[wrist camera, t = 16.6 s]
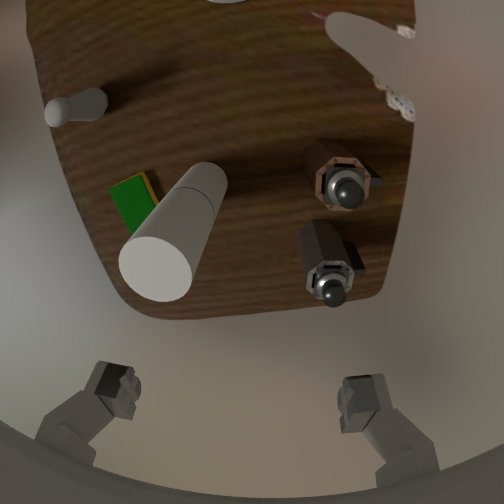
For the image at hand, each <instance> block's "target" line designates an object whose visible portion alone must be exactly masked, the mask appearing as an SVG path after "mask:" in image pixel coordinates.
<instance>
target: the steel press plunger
mask: <svg viewBox="0 0 504 504" xmlns="http://www.w3.org/2000/svg"><path fill="white" fill-rule="evenodd" d="M324 267H330V266H329V265H325V266H324ZM347 288H348V283H347V280H346V278H345V277H344V276H343V275H342V274H339V273H328V274H326V275H324V276H322V277H321V278H320V279H319V280H318V282H317V285H316V290H317V293H318V295H319V296H320V297H321V298H323V299H324V303H325V304H326V305H327V306H329V307H338V306H340V305H342V304H343V303H344V302H345V300H346V291H347Z"/></svg>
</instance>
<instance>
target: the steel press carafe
mask: <svg viewBox="0 0 504 504" xmlns="http://www.w3.org/2000/svg"><path fill="white" fill-rule="evenodd" d="M299 247H300V253H301V259H302V265H303V271H304V277H305V284H306V289H307V290H308V291H310V292H311V293H312V294H313V297H316V298H318V299H323V298H321V297H320V296H319V295H318V293H317V290H316V285H317V282H318V280H319V279H320V278H321V277H322V276H324V275H326V274H328V273H339V274H342V275H343V276H344V277H345V278H346V280H347V283H348V288H347V291H348V290H350V289H351V287H352V283H353V278H354V276H364V275H365V271H366V269H365V267H364V264H363V262H362V260H361V258H360V256H359V254H358V252H357V249H356V247H355V245H354V243H353V242H345V241H342V240H341V238H340V236H339V233H338V231H337V230H336V229H335V228H334V227H333V226H332V225H331V224H330V222H329V221H322V220H312V221H311V222H309V223H308V224H307V225H306V226H305V227H303V228H302V229H301V230H300V238H299ZM325 265H329V266H330V267H324V266H325ZM347 291H346V292H347Z"/></svg>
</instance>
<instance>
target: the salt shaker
mask: <svg viewBox="0 0 504 504" xmlns="http://www.w3.org/2000/svg"><path fill="white" fill-rule="evenodd" d="M108 105H109V103H108V97H107V94H106V93H104V92H103V91H102V90H101V89H99V88H93V87H92V88H90V89H87V90H85V91H83V92H80V93H78V94H76V95H74V96H71V97H69V98H67V99H66V98H63V97H57V98H55V99H53V100H51V101H49V103H48V104H47V105H46V108H45V119H46V122H47V124H48V125H49V126H51V127H59V126H61V125H64V124H65V123H66V122H67V121H68V120H73V121H94V120H97V119H99V118H100V117H101V116H102V115H103V114H104V112H105V110H106V108H107V107H108Z"/></svg>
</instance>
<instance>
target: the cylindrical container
mask: <svg viewBox="0 0 504 504" xmlns="http://www.w3.org/2000/svg"><path fill="white" fill-rule="evenodd" d="M227 185H228V182H227V177H226V174H225V173H224V171H223V170H222V169H221V168H220V167H219V166H217V165H216V164H214V163H210V162H201V163H198V164H196V165H194V166H192V167H191V168H190V169H189V170H188V171H187V172H186V174H185V175H184V176H183V177H182V178H181V179H180V180H179V181H178V182H177V183H176V185H175V186H174V187H173V188H172V189H171V190H170V191H169V192H168V193H167V195H166V196H165V197H164V198H163V199H162V200H161V202H160V203H159V204H158V205H157V206H156V207H155V209H154V210H153V211H152V212H151V213H150V215H149V216H148V217H147V218H146V219H145V221H144V222H143V223H142V224H141V225H140V227H139V228H138V229H137V230H136V231H135V233H134V234H133V235H132V236H131V238H130V239H129V240H128V241H127V243H126V244H125V245H124V247H123V248H122V250H121V252H120V256H119V268H120V271H121V274H122V276H123V278H124V280H125V281H126V282H127V284H128V285H129V286H130V287H131V288H132V289H133V290H134V291H135V292H137V293H138V294H140V295H141V296H143V297H145V298H148V299H151V300H154V301H160V302H168V301H173V300H176V299H179V298H180V297H182V296H183V295H184V294H185V293H186V292H187V291H188V290H189V288H190V286H191V283H192V280H193V277H194V274H195V272H196V269H197V266H198V263H199V261H200V258H201V255H202V252H203V250H204V247H205V244H206V242H207V239H208V236H209V234H210V231H211V228H212V226H213V223H214V221H215V218H216V215H217V213H218V210H219V208H220V205H221V203H222V200H223V198H224V195H225V193H226V190H227Z"/></svg>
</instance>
